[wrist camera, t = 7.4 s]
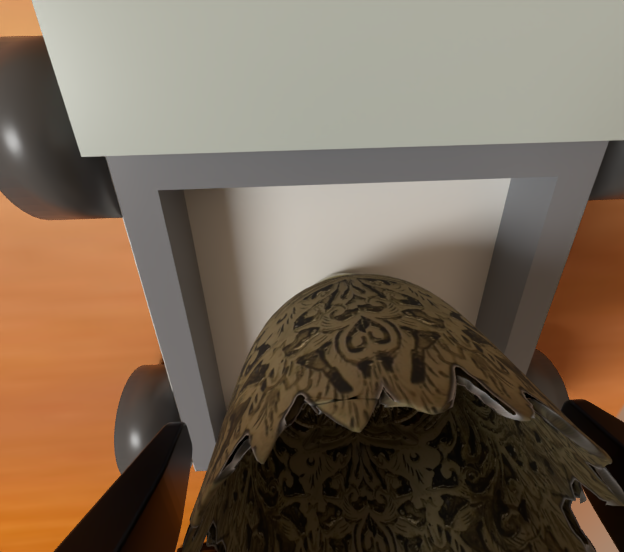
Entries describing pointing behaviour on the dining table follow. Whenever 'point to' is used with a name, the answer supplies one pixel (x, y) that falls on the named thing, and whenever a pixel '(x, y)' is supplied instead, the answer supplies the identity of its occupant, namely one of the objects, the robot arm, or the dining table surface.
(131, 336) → the dining table surface
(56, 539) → the dining table surface
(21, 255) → the dining table surface
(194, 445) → the car chassis
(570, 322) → the dining table surface
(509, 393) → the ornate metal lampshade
